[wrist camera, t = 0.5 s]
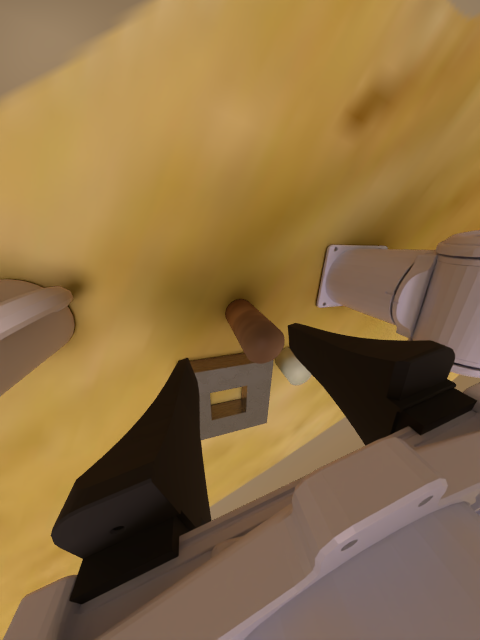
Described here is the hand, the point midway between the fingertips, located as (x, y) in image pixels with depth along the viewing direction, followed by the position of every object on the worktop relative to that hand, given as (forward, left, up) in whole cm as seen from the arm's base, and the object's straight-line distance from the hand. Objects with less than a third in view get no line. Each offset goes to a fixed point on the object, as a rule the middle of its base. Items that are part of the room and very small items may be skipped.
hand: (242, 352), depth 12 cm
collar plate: (0, +13, -10) cm, 16 cm away
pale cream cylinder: (-10, +9, -10) cm, 17 cm away
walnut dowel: (-2, +1, -10) cm, 10 cm away
